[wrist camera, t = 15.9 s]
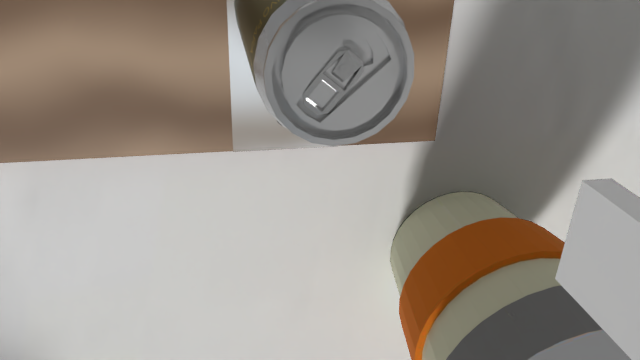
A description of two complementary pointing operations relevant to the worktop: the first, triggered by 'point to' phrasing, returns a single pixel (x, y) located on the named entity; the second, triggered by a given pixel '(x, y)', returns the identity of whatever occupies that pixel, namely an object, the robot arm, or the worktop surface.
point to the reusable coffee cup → (487, 287)
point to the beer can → (328, 64)
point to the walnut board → (166, 80)
